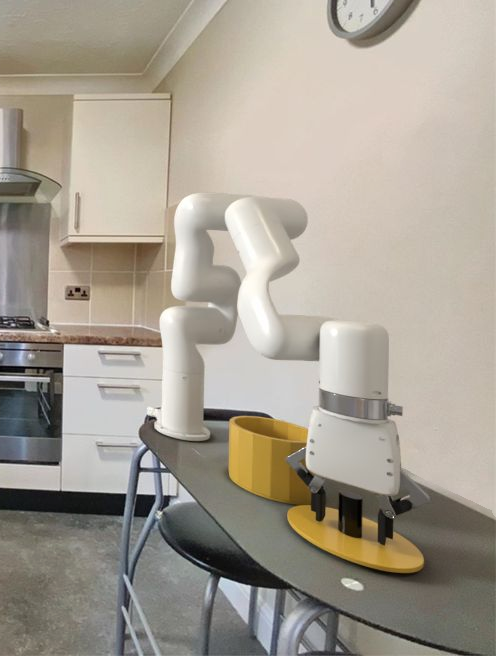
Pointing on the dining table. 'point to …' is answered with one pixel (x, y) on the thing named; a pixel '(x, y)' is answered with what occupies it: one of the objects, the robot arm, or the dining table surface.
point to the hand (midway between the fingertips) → (350, 527)
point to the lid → (355, 536)
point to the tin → (267, 458)
